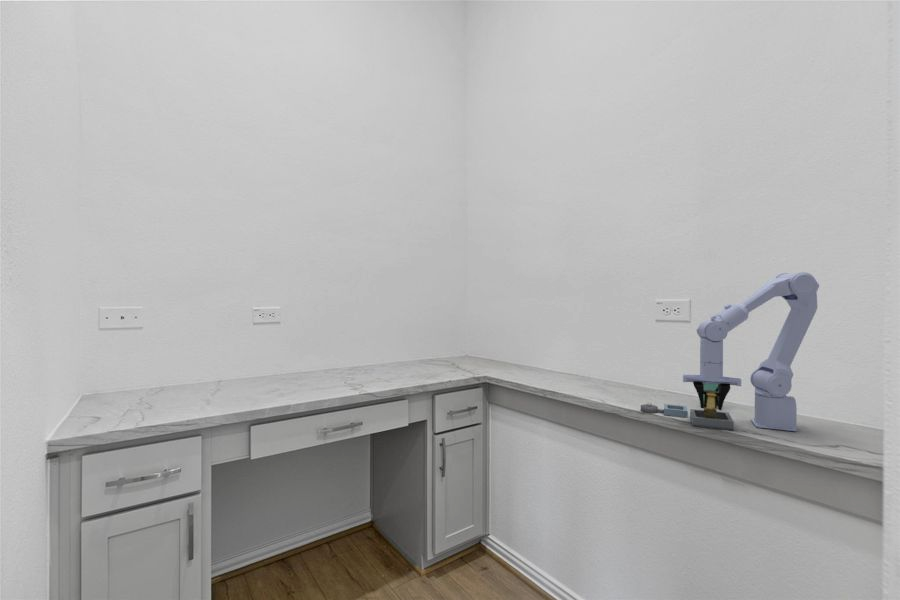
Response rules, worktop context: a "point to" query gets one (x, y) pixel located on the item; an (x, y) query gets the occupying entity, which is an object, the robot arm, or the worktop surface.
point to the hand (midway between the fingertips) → (711, 408)
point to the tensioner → (666, 409)
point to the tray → (712, 420)
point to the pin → (710, 404)
